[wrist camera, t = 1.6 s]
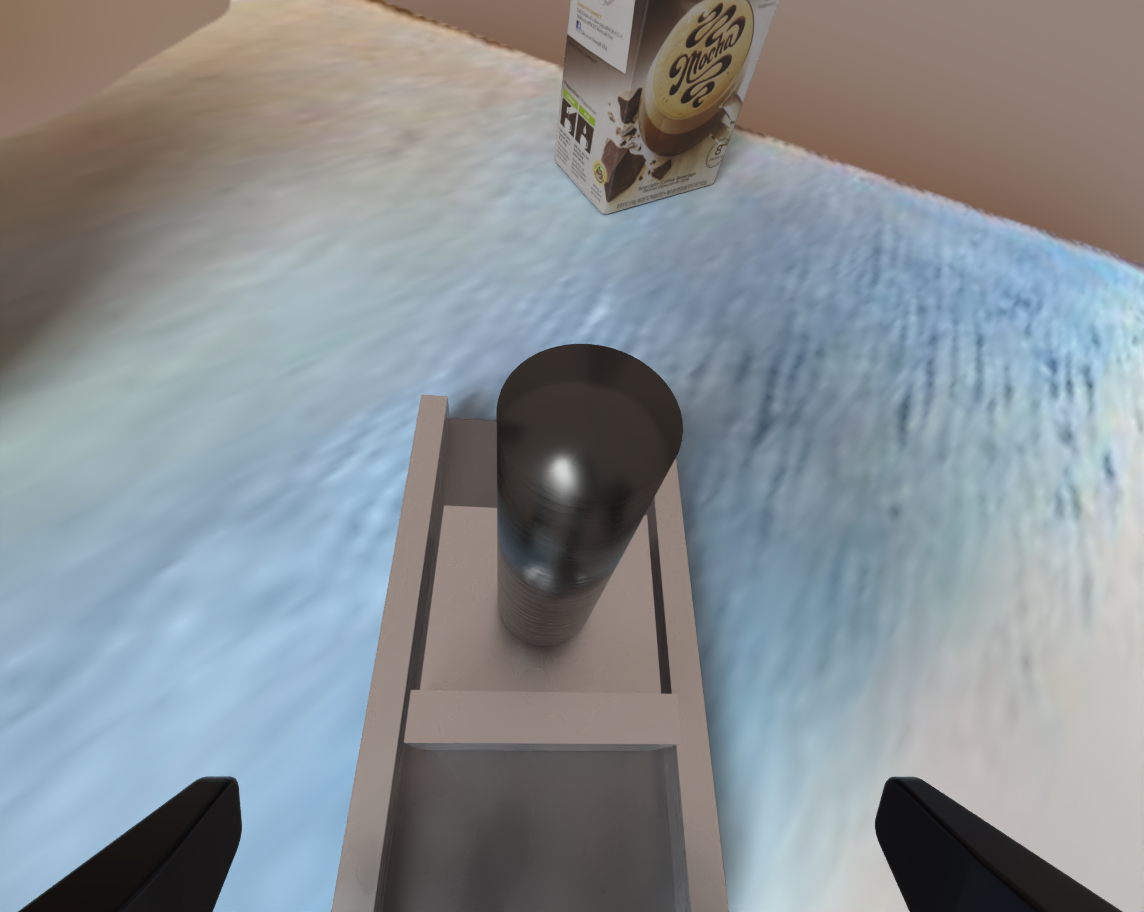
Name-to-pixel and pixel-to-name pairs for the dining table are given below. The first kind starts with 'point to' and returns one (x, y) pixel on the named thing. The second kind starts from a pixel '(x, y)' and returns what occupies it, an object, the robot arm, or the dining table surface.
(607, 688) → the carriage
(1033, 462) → the dining table surface
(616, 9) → the coffee box
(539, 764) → the base
